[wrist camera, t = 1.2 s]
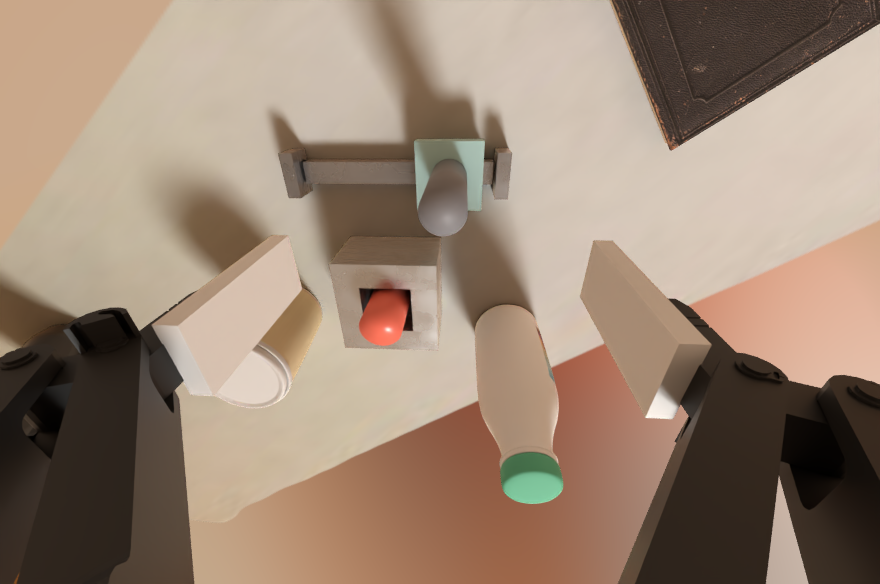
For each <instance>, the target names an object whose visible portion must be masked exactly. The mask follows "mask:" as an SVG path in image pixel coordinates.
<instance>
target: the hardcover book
mask: <svg viewBox="0 0 880 584" xmlns="http://www.w3.org/2000/svg"><path fill="white" fill-rule="evenodd" d="M610 3H611V5H612V8H613V10H614V13H615V16H616V18H617V21H618V23H619V26H620V28H621V31H622V33H623V36H624V39H625V41H626V44H627V46H628V49H629V51H630V54H631V56H632V59H633V62H634V64H635V67H636V69H637V72H638V74H639V77H640V79H641V82H642V85H643V87H644V90H645V92H646V95H647V97H648V100H649V102H650V105H651V108H652V110H653V113H654V115H655V118H656V120H657V123H658V125H659V128H660V131H661V133H662V136H663V138H664V141H665V143H667V144H668V147H669V149H670V150H671V151H672V150H673V149H675V148H676V147H678V146H680V145H681V144H683V143H685V142H686V141H688V140H690V139H691V138H693V137H694V136H696V135H698V134H699V133H701V132H703V131H704V130H706V129H708V128H709V127H711V126H713V125H714V124H716V123H717V122H719V121H721V120H722V119H724V118H726V117H727V116H729V115H731V114H732V113H734V112H735V111H737V110H739V109H740V108H742V107H744V106H745V105H747V104H749V103H750V102H752V101H754V100H755V99H757V98H758V97H760V96H762V95H763V94H765V93H767V92H768V91H770V90H772V89H773V88H775V87H776V86H778V85H780V84H781V83H783V82H785V81H786V80H788V79H790V78H791V77H793V76H795V75H796V74H798V73H799V72H801V71H803V70H804V69H806V68H808V67H809V66H811V65H813V64H814V63H816V62H817V61H819V60H821V59H822V58H824V57H826V56H827V55H829V54H831V53H832V52H834V51H836V50H837V49H839V48H840V47H842V46H844V45H845V44H847V43H849V42H850V41H852V40H854V39H855V38H857V37H858V36H860V35H862V34H863V33H865V32H867V31H868V30H870V29H872V28H873V27H875V26H877V25H878V24H880V0H610Z"/></svg>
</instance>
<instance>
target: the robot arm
mask: <svg viewBox="0 0 880 584" xmlns="http://www.w3.org/2000/svg"><path fill="white" fill-rule="evenodd" d="M301 290H302V286H301V282H300V278H299V275H298V271H297V267H296V263H295V259H294V255H293V251H292V248H291V244H290V240H289V236H285V235H271V236H270V237H269V238H267V239H266V240H265V241H263V242H262V243H261V244H259V245H258V246H257V247H255V248H254V249H253V250H251V251H250V252H249V253H247V254H246V255H245V256H243V257H242V258H241V259H239V260H238V261H237V262H235V263H234V264H232V265H231V266H230V267H228V268H227V269H226V270H224V271H223V272H222V273H220V274H219V275H218V276H216V277H215V278H214V279H212V280H211V281H210V282H208V283H207V284H206V285H204V286H203V287H202V288H200V289H199V290H197V291H195V292H193V293H191V294H189V295H188V296H186V297H185V298H184V299H182V300H181V301H180V302H178V304H175V305H174V306H173V307H171V308H170V309H169V311H166V312H165V313H163V314H162V315H161V316H159V317H158V318H156V319H155V320H154V321H152V322H151V323H150V324H148V325H147V326H146V327H144V328H143V329H142V330H140V331H139V330H138V328H137V327H136V325H135V323H134V322H133V320H132V318H131V317H130V315H129V313H128V312H127V310H126V309H123V308H107V309H102V310H98V311H95V312H92V313H89V314H86V315H84V316H82V317H79V318H77V319H75V320H74V321H72V322H71V323H69V324H68V325H55V326H51V327H49V328H47V329H45V330H43V331H42V332H40V333H38V334H37V335H35V336H33V337H32V338H30V339H29V340H28V341H27V342H26V343H25V344H24V345H23V346H22V348H19V349H16V350H15V351H11V352H9V353H6V354H5V355H4V356H2V357H1V358H0V584H13V583H14V582H15V580H16V578H17V576H18V574H19V576H18V580H17V583H16V584H194V576H193V563H192V550H191V539H190V527H189V514H188V501H187V489H186V477H185V465H184V452H183V440H182V428H181V416H180V403H179V398H178V396H177V394H176V392H175V391H174V390H175V389H176V388H177V387H178V386H179V385H180V384H181V383H182V382H184V384H185V386H186V387H187V389H188V391H189V393H190V394H191V395H201V396H214V395H215V394H216V393H217V392H218V391H219V389H220V388H221V387H222V386H223V384H224V383H225V382H226V381H227V380H228V378H229V377H230V376H231V375H232V374H233V372H234V371H235V370H236V369H237V368H238V366H239V365H240V364H241V363H242V361H243V360H244V359H245V358H246V357H247V355H248V354H249V353H250V352H251V351H252V349H253V348H254V347H255V346H256V345H257V343H258V342H259V341H260V340H261V339H262V337H263V336H264V335H265V334H266V332H267V331H268V330H269V329H270V328H271V326H272V325H273V324H274V323H275V322H276V320H277V319H278V318H279V317H280V316H281V314H282V313H283V312H284V311H285V310H286V308H287V307H288V306H289V305H290V303H291V302H292V301H293V300H294V299H295V297H296V296H297V295H298V294H299V293H300V291H301ZM580 298H581V299H582V301H583V303H584V305H585V307H586V309H587V311H588V312H589V314H590V316H591V318H592V320H593V322H594V324H595V325H596V327H597V329H598V331H599V333H600V335H601V336H602V338H603V340H604V342H605V344H606V346H607V348H608V349H609V351H610V353H611V355H612V357H613V358H614V361H615V362H616V364H617V366H618V368H619V370H620V371H621V373H622V375H623V377H624V379H625V381H626V382H627V385H628V386H629V388H630V390H631V392H632V394H633V396H634V398H635V399H636V401H637V403H638V405H639V407H640V408H641V410H642V412H643V414H644V416H645V418H663V419H673V418H674V416H675V414H676V412H677V410H678V408H679V407H680V405H682V407H683V408H684V410H685V411H686V413H687V414H688V415H689V417H688V418H687V420H686V422H685V424H684V426H683V427H682V429H681V431H680V433H679V435H678V437H677V438H676V440H675V442H676V445H675V448H674V450H673V452H672V455H671V457H670V460H669V462H668V464H667V467H666V469H665V472H664V474H663V477H662V479H661V481H660V484H659V486H658V489H657V491H656V493H655V496H654V498H653V500H652V503H651V505H650V508H649V510H648V512H647V515H646V517H645V520H644V522H643V525H642V527H641V529H640V532H639V534H638V536H637V539H636V542H635V544H634V546H633V548H632V551H631V553H630V556H629V558H628V561H627V563H626V565H625V568H624V570H623V573H622V575H621V577H620V580H619V582H618V584H766V576H767V568H768V560H769V552H770V543H771V535H772V527H773V519H774V510H775V502H776V493H777V485H778V477H779V476H780V480H781V484H782V488H783V491H784V495H785V498H786V502H787V506H788V510H789V513H790V517H791V521H792V524H793V528H794V532H795V535H796V539H797V542H798V546H799V550H800V554H801V557H802V561H803V564H804V568H805V572H806V575H807V579H808V583H809V584H880V384H877V383H875V382H872V381H867V380H864V379H861V378H857V377H852V376H846V375H836V376H833V377H831V378H830V379H829V380H828V381H827V382H826V383H825V385H824V386H823V387H822V388H818V387H814V386H809V385H804V384H801V383H796V382H792V381H789V380H788V378H787V376H786V375H785V374H784V373H783V372H782V371H781V370H780V369H778V368H777V367H775V366H774V365H772V364H771V363H769V362H767V361H765V360H762V359H760V358H758V357H755V356H751V355H748V354H743V353H736V352H735V351H734V350H733V349H732V348H731V347H730V346H729V345H728V344H727V343H726V342H725V341H724V340H723V339H722V338H721V337H720V336H719V335H718V334H717V333H716V332H715V331H714V330H713V329H712V328H709V325H708V324H707V323H706V322H705V321H704V320H702V319H700V316H699V315H698V314H697V313H696V312H694V310H693V309H692V308H690V307H689V306H687V305H685V304H684V303H682V302H680V301H678V300H677V299H668V298H667V297H666V296H665V295H664V294H663V293H662V292H661V291H660V290H659V289H658V288H657V287H656V286H655V285H654V284H653V283H652V282H651V281H650V280H649V279H648V277H647V276H646V275H645V274H644V273H643V272H642V271H641V270H640V269H639V268H638V267H637V266H636V265H635V264H634V263H633V262H632V261H631V260H630V259H629V258H628V257H627V255H626V254H625V253H624V252H623V251H622V250H621V249H620V248H619V247H618V246H617V245H616V244H615V243H614V242H613V241H593V245H592V249H591V253H590V257H589V262H588V266H587V270H586V274H585V278H584V282H583V287H582V291H581V295H580ZM19 572H20V573H19Z"/></svg>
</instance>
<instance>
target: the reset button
mask: <svg viewBox="0 0 880 584" xmlns="http://www.w3.org/2000/svg"><path fill="white" fill-rule="evenodd" d="M410 300H411V292H410V289H374V291H373V293H372V295H371V297H370V300H369V302H368V304H367V306H366V308H365V311H364V313H363V315H362V317H361V319H360V322H359V330H360V332H361V334H362V336H363V337H364V338H365V339H366V340H367V341H369V342H371V343H373V344H376V345H381V346H386V345H391V344H393V343H395V342H397V341H398V340H399V339H400V337H401V335H402V331H403V327H404V323H405V319H406V316H407V312H408V308H409V304H410Z"/></svg>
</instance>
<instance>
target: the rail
mask: <svg viewBox="0 0 880 584" xmlns="http://www.w3.org/2000/svg"><path fill="white" fill-rule="evenodd" d="M278 155H279V160H280V164H281V168H282V172H283V176H284V180H285V184H286V188H287V193H288V197H289V198H302V197H303V196H305V195H307V194H308V193H310V192H311V191H313V187H312V184H416V173H415V159H309V160H307V158H306V153H305V148H296V149H290V150H287V151H284V152H281V153H278ZM511 159H512V152H511V151H510V150H509V148H495V160H494V162H493V159H484V167H483V184H492V178H493V189H492V191H493V195H494V199H508V191H509V180H510V170H511ZM493 163H494V174H493Z"/></svg>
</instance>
